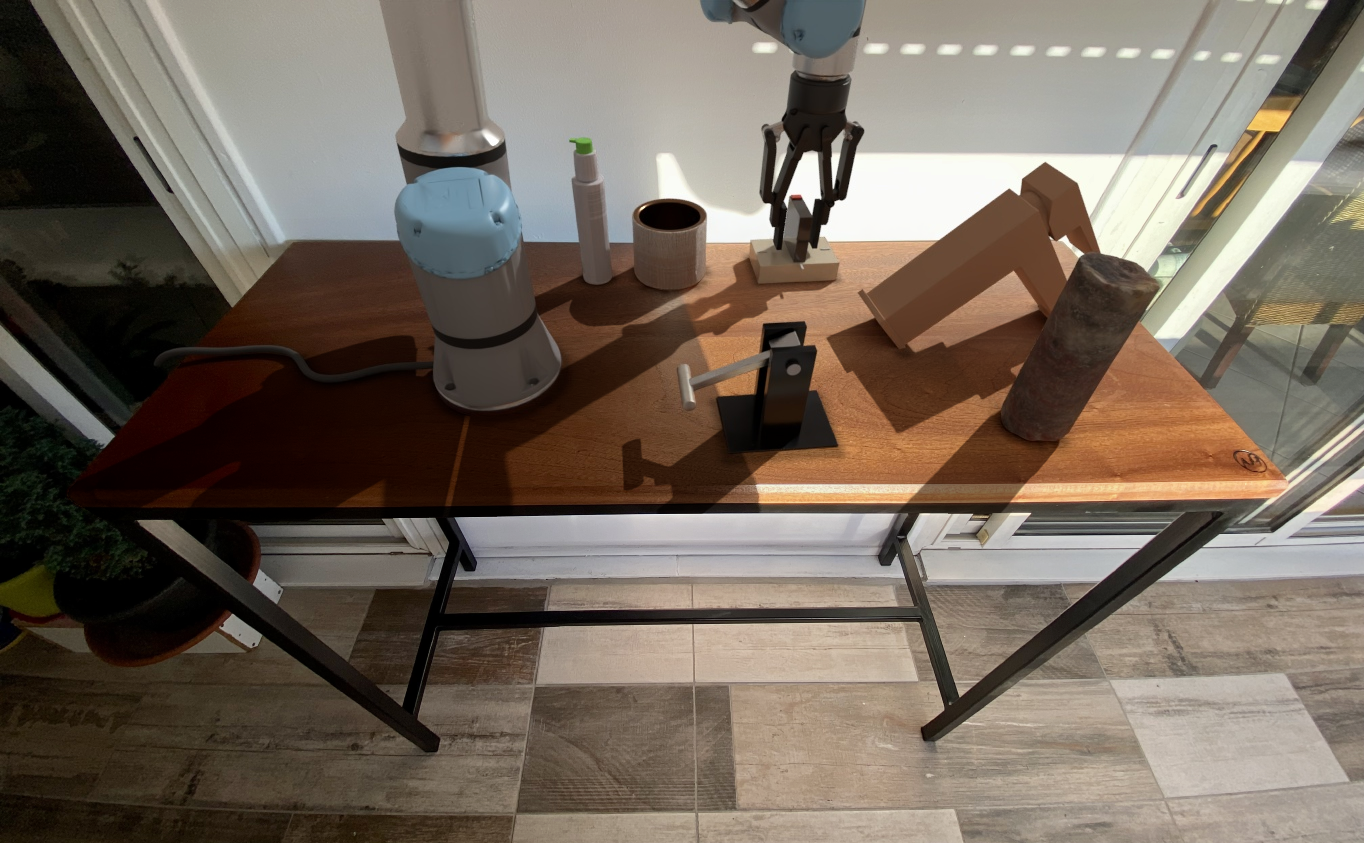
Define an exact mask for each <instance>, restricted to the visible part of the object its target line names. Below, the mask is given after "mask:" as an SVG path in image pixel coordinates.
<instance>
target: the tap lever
mask: <svg viewBox="0 0 1364 843" xmlns="http://www.w3.org/2000/svg"><path fill="white" fill-rule="evenodd" d="M769 343H770V346H771V347H788V346H801V345H800V342H799V340H798V337H797V335H796V332H795V331H794V332H792V333H789V334H786V335H783V336H781V337H778V338H775V339H772V340H770V341H769ZM770 351H771V350H768V351H765V352H762V353H760V354H759V353H757V354H754V355H752V356H748V357H745V358H744V359H739V360H738V361H734V362H732V363H729V364H727V365H724V366H721V367H718V368H715V369H712V370H710V371H707V372H704V373H701V374H699V375H696V376H693V377H692V371H691V367H690V366H689V364H687V363H681V364H679V365H677V367H676V374H677V380H678V387H679V388H678V389H679V394H680V400H681V408H682V409H683V410H684V411H685V412H692V411H694V410H695V409H696V408H697V400H696V395H695V392H696V391H698V390H699V391H700V390H702V389H705V388H707V387H710V386H713V385H717V384H718V383H722V382H724V381H726V380H730V379H733V378H736V377H739V376H741V375H745V374H747V373H750V372H752V371H755V370H756V371H757V369H758V368H761V367H764V366H767V365H769V358H770Z"/></svg>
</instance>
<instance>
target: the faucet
mask: <svg viewBox="0 0 1364 843" xmlns="http://www.w3.org/2000/svg"><path fill="white" fill-rule="evenodd" d="M1019 192H1020V193H1019V194H1018V193H1016V192H1015V191H1014V190H1012V189H1011V188H1007V189H1006V190H1005V191H1003V192H1002V193H1001V194H999V195H998V196H996V197H995V198H994V199H993V200H991V201H990V202H989V203H987V204H986V205H984V206H983V207H982V208H980V209H979V210H978V211H976V212H975V213H974V214H972V215H971V216H969V217H967V218H966V219H965V220H964V221H963V222H961V223H960V224H959V225H957V226H956V227H955V228H953V229H951V231H949V232H948V233H947V234H945V235H944V236H943V237H941V238H940V239H939V240H937V241H936V242H934V243H933V244H932V245H930V246H928V247H927V248H926V249H924V250H923V251H922V252H921V253H919V254H918V255H917V256H915V257H914V258H912V259H911V260H910V261H909V262H907V263H906V264H904V265H903V266H902V267H900V268H899V269H897V271H895V272H894V273H892V274H891V275H890V276H888V277H887V278H886V279H884V280H883V281H882V282H880V283H879V284H878V285H876V286H875V287H873V288H872V289H871V290H869V291H868V292H866V291H865V290H864V288H862V289H860V290H859V291H858V292H857V294H858V296H859V297H860V298H861V300H862V302H863V303H864V304H865V306H866V307H867V309H869V311H870V313H871V314H872V315H873V317H874V319H875V320H876V321H877V323H878V325H879V326H880V327H881V328H882V329H883V331H884V332H885V333H886V334H887V336H888V337H889V338H890V340H891V341H892V342H893V344H894V345H895V346H896V347H897V348H898V350H900V349H906V348H907V347H906V345H907V344H908V343H910V342H911V341H913V340H914V339H916V338H917V337H919V336H920V335H922V334H923V333H924V332H926V331H927V330H929V329H930V328H933V327H934V326H935V325H936V324H938V323H939V322H941V321H942V320H944V319H945V318H946V317H948V316H950V315H951V314H952V313H954V312H955V311H957V310H958V309H960V308H961V307H963V306H964V305H966V304H967V303H969V302H971V301H972V300H973V299H975V298H976V297H978V296H979V295H981V294H982V293H983V292H985V291H986V290H988V289H989V288H991V287H992V286H994V285H995V284H997V283H998V282H999V281H1001V280H1002V279H1004V278H1006V277H1008V276H1009V275H1010V274H1011V273H1013V272H1014V273H1015V275H1016V277H1017V278H1018V279H1019V280H1020V282H1021V283H1022V284H1023V286H1024V288H1025V289H1026V290H1027V292H1028V293H1029V295H1030V296H1031V298H1032V299H1033V301H1034V302H1035V303H1036V305H1037V308H1038V309H1039V311H1040V312H1041V313H1042V314H1043V315H1044V317H1046V318H1047V319H1048V317H1049V315H1050V313H1051V312H1052V310H1053V308H1054V306H1055V304H1056V302H1057V300H1058V298H1059V296H1060V294H1061V292H1062V290H1063V289H1064V287H1065V285H1066V283H1067V280H1068V279H1067V276H1066V275H1065V272H1064V268H1063V267H1062V265H1061V262H1060V260H1059V257H1058V255H1057V253H1056V250H1055V249H1056V248H1055V247H1054V245H1053V242H1052V240H1053V241H1054V242H1058V241H1060V240H1061V239H1063V238H1064V237H1065V236H1066V238H1067V240H1068V243H1069V244H1071V245H1072V246H1073V247H1075V248H1076V249H1077V250H1079V251H1080V252H1081V253H1083V255H1084V254H1085V253H1088V252H1098V253H1101V254H1102V252H1101V249H1100V247H1099V243H1098V240H1097V236H1096V234H1095V231H1094V228H1093V224H1092V222H1091V219H1090V216H1089V212H1088V210H1087V207H1086V204H1085V201H1084V198H1083V195H1082V191H1081V189H1080V186H1079V183H1078V182H1077V181H1075V180H1074V179H1072V178H1071V177H1069V176H1068V175H1066V174H1065V173H1063V172H1062V171H1060V170H1058V169H1057V168H1055V167H1054V166H1053V165H1051V164H1049V163H1048V162H1047V161H1044V162H1042V163H1041V164H1040V165H1038V166H1037V167H1036V168H1034V169H1033V170H1032V171H1030V172H1029V173H1027V175H1025V176H1023V177H1022V179H1021V185H1020V191H1019ZM1051 239H1052V240H1051Z"/></svg>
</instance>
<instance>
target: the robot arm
mask: <svg viewBox="0 0 1364 843" xmlns="http://www.w3.org/2000/svg"><path fill="white" fill-rule="evenodd" d="M378 2H379V6H380V10H381V14H382V19H383V24H384V27H385V32H386V37H387V41H388V45H389V46H388V47H389V49H390V55H391V59H392V63H393V67H394V72H395V76H396V80H397V84H398V89H399V94H400V97H401V103H402V107H403V110H404V112H403V113H404V116H405V120H404V121H403V123H402V124H401V126H400V127H399V128H398V130H397V131H396V132H395V134H394V136H395V140H396V141H395V142H396V146H397V150H398V154H399V157H400V158H399V160H400V162H401V167H402V172H403V176H404V180H405V184H406V185H405V186H404V187H403V188H402V189H401V191H400V192H399V193H398V195H397V196H396V199H395V203H394V209H393V210H394V211H393V213H394V214H393V215H394V220H395V223H396V225H395V226H396V234H397V237H398V238H397V239H398V241H399V243H400V245H401V246H402V248H403V252H404V253H405V254H406V257H407V260H408V262H409V265H410V268H411V271H412V274H413V277H414V280H415V282H416V285H417V289H418V291H419V293H420V297H421V299H422V302H423V305H424V308H425V310H426V314H427V316H428V318H429V319H428V320H429V322H430V325H431V328H432V330H433V333H434V345H433V346H434V347H433V348H434V349H433V360H430V361H429V360H427V361H411V362H410V361H409V362H393V363H385V364H379V365H375V366H370V367H365V368H362V369H359V370H355V371H351V372H346V373H341V374H323V373H318V372H315V371H313V370H312V369H311V368H310V367H309V365H308V364H307V362H306V361H305V359H304V357H303V356H301V354H300V353H298V352H297V351H295V350H293V349H292V348H290V347H287V346H281V345H271V344H261V345H260V344H259V345H243V346H230V347H229V346H228V347H203V346H202V347H201V346H200V347H199V346H187V347H175V348H172V349H169V350H165V351H163V352H161V353H160V354H159V355H158V356H157V357H156V358H155V359H154V361H153V366H154V367H160V366H162V365H164V364H165V363H166V362H167V361H168V360H170V359H171V358H172V359H173V358H175V357H180V356H189V355H190V356H191V355H193V356H194V355H195V356H196V355H198V356H199V355H201V356H229V355H243V354H244V355H245V354H258V353H268V354H269V353H270V354H272V353H273V354H278V355H279V354H281V355H285V356H287V357H290V358H291V359H292V360H293V361H294V362H295V363H296V366H298V368H299V370H300V371H301V373H302V374H303V375H304V376H306V377H307V378H309V379H311V380H312V381H314V382H319V383H325V384H326V383H329V384H333V383H343V382H348V381H353V380H357V379H361V378H365V377H369V376H372V375H376V374H377V375H378V374H381V373H387V372H397V371H415V370H418V371H419V370H432V379H433V383H434V385H435V387H436V391H437V393H438V396H439V398H440V399H441V401H442V402H443V403H444V404H445V405H446V406H447V407H448V408H450V409H451V410H452V411H455V412H458V413H460V414H463V415H466V416H470V417H471V415H472V413H480V414H489V413H490V414H491V413H501V412H506V411H510V410H514V409H518V408H520V407H523V406H526V405H528V404H531V403H532V402H535V401H536V400H538V399H540V398H541V397H542V396H544V395H545V394H546V393H548V392H549V391H550V390H551V389H552V388H553V387H554V386H555V385H556V384H557V382H558V380H559V378H560V377H561V374H562V369H563V359H562V352H561V350H560V348H559V346H558V344H557V342H556V341H555V339H554V338H553V336H552V334H551V333H550V331H549V330H548V328H547V327H546V325H545V323H544V321H543V320H542V319H541V317H540V315H539V312H538V308H537V303H536V298H535V293H534V288H533V281H532V276H531V272H530V267H529V266H530V265H529V262H528V261H529V260H528V257H527V251H526V247H525V241H524V235H523V231H522V229H523V222H522V215H521V211H520V208H519V206H518V204H517V203H516V199H515V196H514V194H513V189H512V183H511V174H510V173H511V172H510V165H509V158H508V150H507V142H506V134H505V131H504V130H503V128H502V127H500V125H498V124H497V123H496V121H495V122H494V120H492V118H490V116H489V110H488V104H487V97H486V88H485V81H484V75H483V74H484V73H483V69H482V68H483V67H482V61H481V60H482V59H481V52H480V45H479V39H478V32H477V24H476V18H475V17H476V16H475V10H474V3H473V0H378ZM699 4H700V8H701V11H702V14H703V15H704V16H705V18H706V19H707V20H708V21H709V22H712V23H727V24H728V25H733V23H739V22H740V23H741V22H742V23H747V24H748V25H750V26H752V27H754V28H755V29H757V30H759V31H760V32H762V33H764V34H766V35H768V36H770V37H772V38H773V39H774V40H776V41H778V42H779V43H781V44H782V45H783V46H785V47H786V48H788V49H789V50H790V51H791V52H792V54H793V55H792V61H791V66H792V68H793V70H794V71H792V73H791V74H790V76H789V84H788V93H787V101H786V109H785V111H784V113H783V116H782V117H781V119H780V121H778V122H775V123H773V124H770V123H764V124H762V126H761V129H760V130H761V134H762V138H763V153H762V162H761V171H760V172H761V173H760V181H759V192H758V194H759V196H760V199H761V201H762V203H763V204H769V205H770V210H769V218H768V220H769V224H770V226H771V228H774V229H773V230H774V231H773V236H772V239H773V243H774V245H775V247H776V250H782V244H783V238H784V230H785V223H786V216H787V209H788V205H787V204H786V202H785V200H786V196H787V195H788V191H789V189H790V186H791V184H792V181H793V178H794V175H795V173H796V170H797V168H798V165H799V164H800V163H799V162H800V161H801V160H802V159H803V156H804V153H808V152H815V153H817V163H818V177H819V191H820V192H819V193H820V198H814V201H813V206H812V213H811V214H812V216H813V221H812V226H811V232H810V238H809V243H810V245H811V247H812V249H817V247H818V242H819V237H821V230H822V226H827V225H828V223H829V220H830V214H831V209H832V208H834V206H835V205H836V202H837V201H841V202H842V201H845V200H846V199H847V197H848V192H849V187H850V181H851V176H852V173H853V172H852V171H853V167H854V163H855V158H856V154H857V148H858V145H859V144H860V142H861V140H862V139H863V136H864V134H865V128H864V127H863V126H862V125H861V124H860V123H859V122H858V121H857V120H854V121H850V120H848V118H847V115H846V109H847V106H848V102H849V101H848V100H849V96H850V91H851V86H852V85H851V84H852V76H851V75H850V74H851V73H852V72H853V71H854V69H855V64H856V58H857V54H858V49H859V48H858V47H859V42H860V40H859V39H860V35H861V29H862V25H863V20H864V15H865V9H866V5H867V0H699ZM783 132H784V134H785V135H786V137H787V138H788V140H789V141H788V144H787V147H786V153H785V156H784V159H783V161H782V165H781V167H780V170H779V173H778V176H777V179H776V180H775V183H774V178H775V170H776V160H777V151H778V149H777V148H778V146H777V143H779V142H780V140H781V135H782V134H783ZM841 133H842V137H843V139H842V142H841V143H842V144H841V149H840V155H839V158H838V163H837V169H836V174H835V180H834V184H833V167H832V164H833V163H832V158H833V148H832V146H833V145H832V143H834V141H835V140H836V139H837V138H838V137H839V135H840V134H841Z"/></svg>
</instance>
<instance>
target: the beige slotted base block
mask: <svg viewBox="0 0 1364 843" xmlns="http://www.w3.org/2000/svg"><path fill="white" fill-rule="evenodd" d="M748 258H749V261H750V265H751V267H752V270H753V273H754V276H755V278H756V281H757V283H758V284H759V285H760V284H777V283H778V284H784V283H785V284H786V283H804V282H823V281H837V277H838V272H839V267H840V261H839V258H838V257H837V255H836V253H835V251H834V250H833V249H832V246H831V244H830V243H829V241H828V239H827V237H826V236H819V242H818V247H817V249H812V247H811V245H810V243H809V244H808V250H807V255H806V261H805V262H793V260H792V258H791V255H790V253H789V251H788V249H787V247H786V244H785V242H784V240H783V244H782V250H776V247H775V245H774V243H773V238H762V239H761V238H757V239H750V240H749V250H748Z"/></svg>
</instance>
